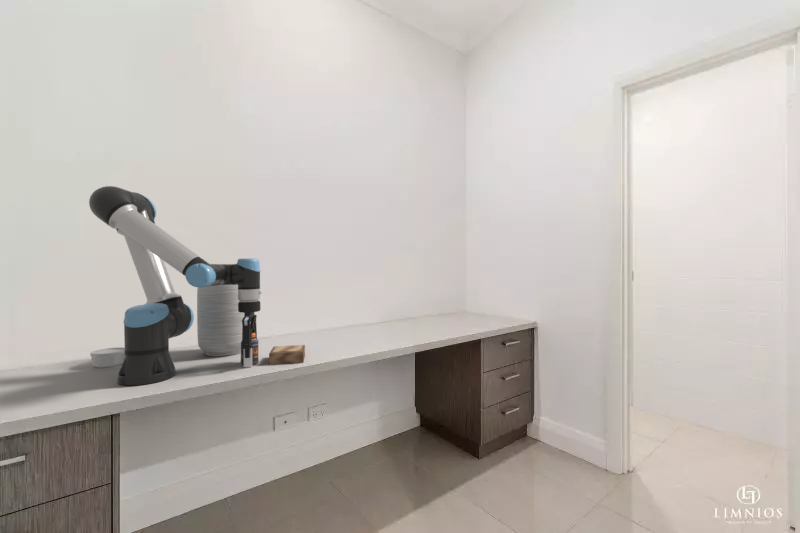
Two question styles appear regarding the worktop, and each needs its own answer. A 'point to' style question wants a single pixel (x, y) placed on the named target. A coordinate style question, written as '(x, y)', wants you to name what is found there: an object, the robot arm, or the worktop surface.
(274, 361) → the plinth
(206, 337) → the vase
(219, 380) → the worktop surface
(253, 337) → the pill bottle
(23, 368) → the worktop surface
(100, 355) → the ramekin
